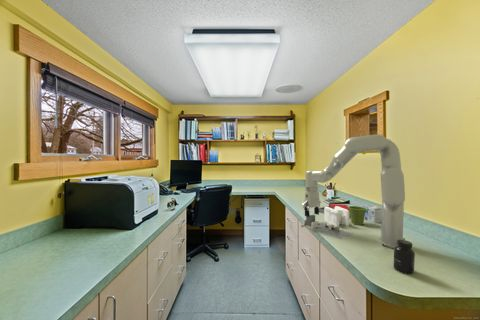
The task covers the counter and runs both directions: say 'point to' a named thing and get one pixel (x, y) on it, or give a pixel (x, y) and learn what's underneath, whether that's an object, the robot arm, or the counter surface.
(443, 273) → the counter surface
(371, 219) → the light bulb box
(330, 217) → the cable organizer
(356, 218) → the plant pot
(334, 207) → the red device housing
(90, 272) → the counter surface
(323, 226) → the board
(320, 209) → the tray
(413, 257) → the supplement bottle
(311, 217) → the block
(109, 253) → the counter surface
